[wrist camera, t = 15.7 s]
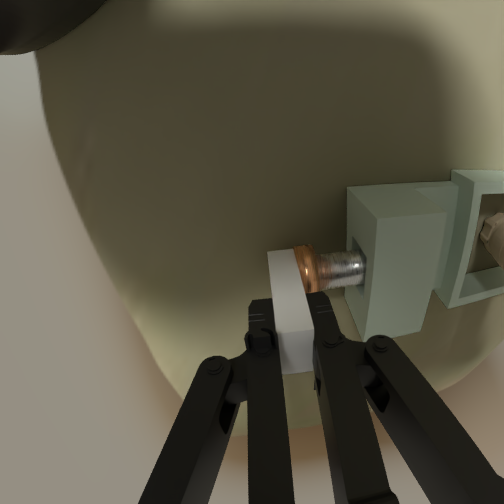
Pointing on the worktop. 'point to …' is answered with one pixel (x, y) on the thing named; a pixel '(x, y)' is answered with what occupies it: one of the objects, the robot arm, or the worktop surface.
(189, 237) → the worktop surface
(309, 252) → the lock pin
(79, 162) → the worktop surface
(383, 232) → the dock
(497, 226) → the handle
